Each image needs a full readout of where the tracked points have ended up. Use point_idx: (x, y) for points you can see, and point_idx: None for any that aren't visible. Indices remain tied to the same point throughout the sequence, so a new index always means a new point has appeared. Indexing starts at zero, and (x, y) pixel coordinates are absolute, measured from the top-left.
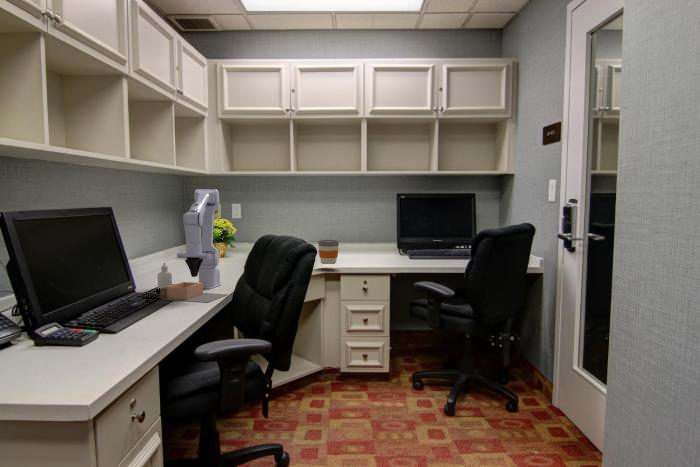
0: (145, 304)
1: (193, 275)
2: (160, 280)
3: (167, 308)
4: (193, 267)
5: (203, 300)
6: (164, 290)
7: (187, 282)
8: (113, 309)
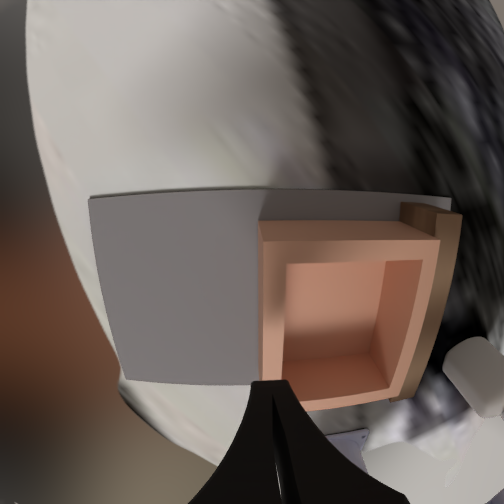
0: (415, 79)
1: (261, 388)
2: (501, 362)
3: (233, 18)
4: (249, 456)
5: (138, 229)
6: (429, 211)
7: (368, 393)
8: (452, 5)
